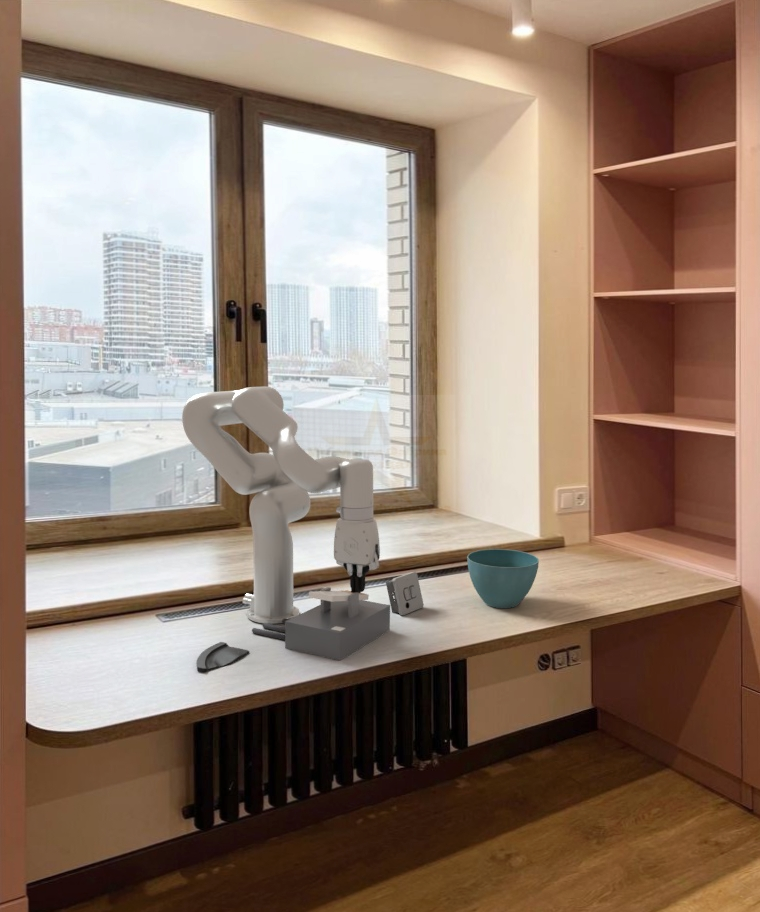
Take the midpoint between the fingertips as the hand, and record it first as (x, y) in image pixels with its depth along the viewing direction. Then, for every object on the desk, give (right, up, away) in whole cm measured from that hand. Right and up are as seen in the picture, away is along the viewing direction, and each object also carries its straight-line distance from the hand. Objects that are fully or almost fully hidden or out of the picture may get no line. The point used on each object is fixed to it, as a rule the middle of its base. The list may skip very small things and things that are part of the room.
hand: (357, 591), depth 188 cm
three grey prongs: (-17, -9, 0) cm, 19 cm away
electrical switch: (+11, -8, +17) cm, 22 cm away
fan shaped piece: (-29, -12, -17) cm, 36 cm away
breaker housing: (-4, -10, -4) cm, 12 cm away
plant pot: (+37, -7, +23) cm, 44 cm away
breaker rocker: (-4, 0, -6) cm, 7 cm away
